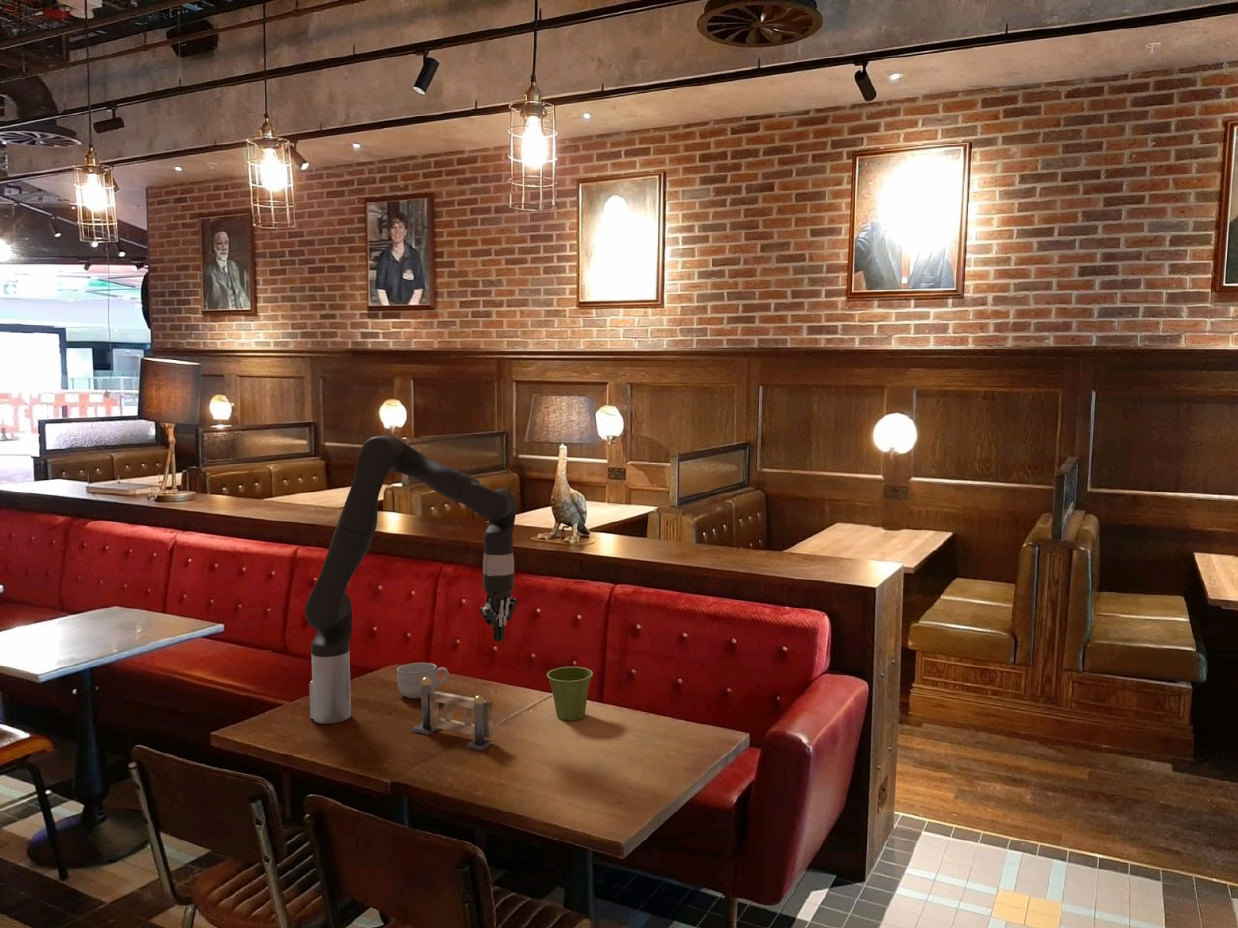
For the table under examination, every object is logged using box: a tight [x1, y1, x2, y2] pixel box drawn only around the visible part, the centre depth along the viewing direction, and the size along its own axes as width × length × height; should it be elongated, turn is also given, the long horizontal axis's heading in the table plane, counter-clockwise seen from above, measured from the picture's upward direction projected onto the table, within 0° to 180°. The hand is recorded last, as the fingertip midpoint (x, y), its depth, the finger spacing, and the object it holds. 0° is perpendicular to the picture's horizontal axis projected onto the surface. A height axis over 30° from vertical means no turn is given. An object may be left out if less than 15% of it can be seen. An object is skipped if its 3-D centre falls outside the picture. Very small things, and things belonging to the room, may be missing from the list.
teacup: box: [396, 662, 450, 699], centre depth 252 cm, size 14×11×8 cm
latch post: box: [467, 695, 492, 751], centre depth 217 cm, size 4×4×12 cm
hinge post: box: [411, 677, 441, 736], centre depth 227 cm, size 5×5×13 cm
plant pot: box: [546, 666, 594, 721], centre depth 236 cm, size 12×12×11 cm
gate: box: [429, 690, 494, 739], centre depth 222 cm, size 17×2×8 cm, turn 63°
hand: (499, 640), depth 227 cm, fingers closed
